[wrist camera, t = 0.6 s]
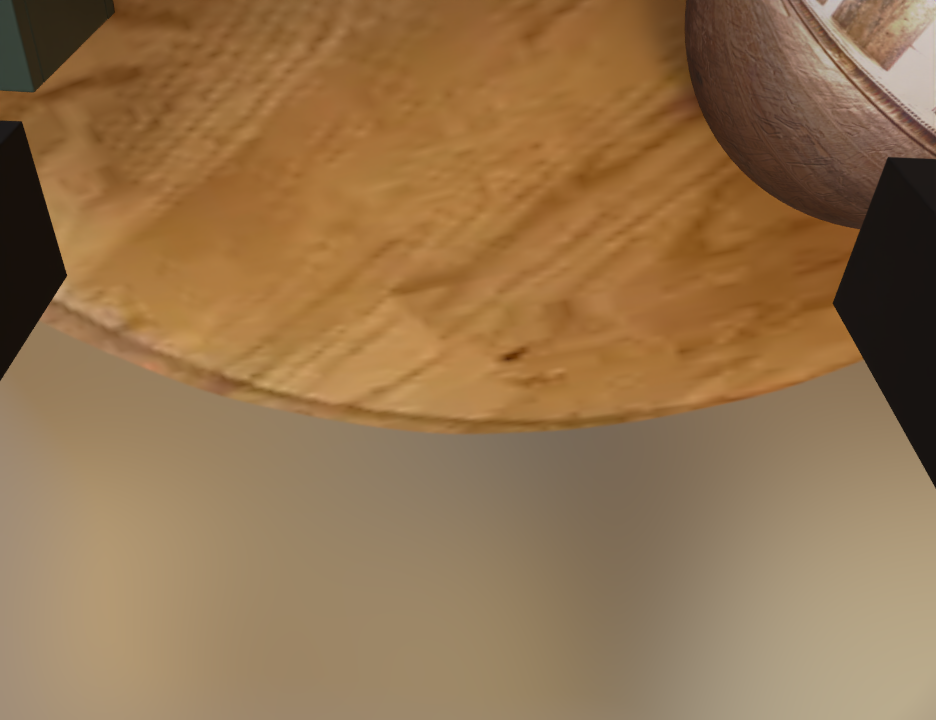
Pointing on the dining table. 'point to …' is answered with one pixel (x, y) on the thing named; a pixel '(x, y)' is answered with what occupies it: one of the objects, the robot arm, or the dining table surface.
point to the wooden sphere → (816, 93)
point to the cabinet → (43, 37)
